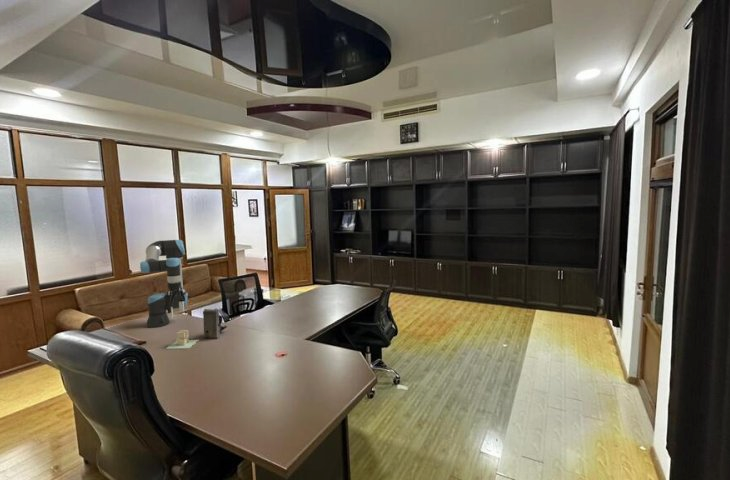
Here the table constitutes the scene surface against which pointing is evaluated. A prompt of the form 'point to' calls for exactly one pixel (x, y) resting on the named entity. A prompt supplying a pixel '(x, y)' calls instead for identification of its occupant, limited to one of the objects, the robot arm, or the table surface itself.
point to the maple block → (182, 337)
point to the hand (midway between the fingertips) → (176, 314)
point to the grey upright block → (212, 323)
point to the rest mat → (187, 346)
